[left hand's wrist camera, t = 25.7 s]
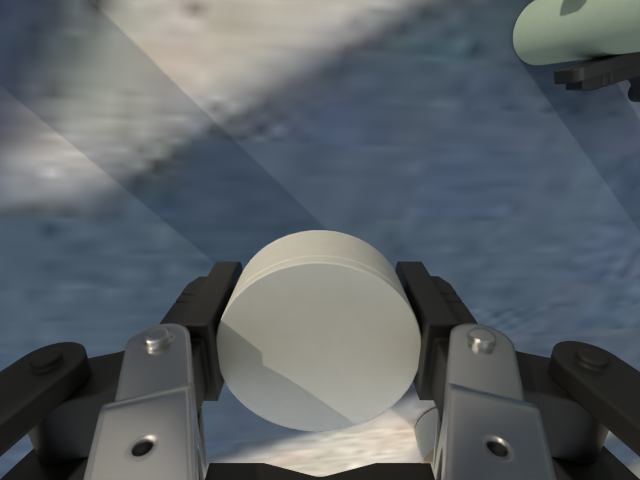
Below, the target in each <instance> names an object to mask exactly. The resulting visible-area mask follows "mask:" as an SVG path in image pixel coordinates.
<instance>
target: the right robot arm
mask: <svg viewBox="0 0 640 480" xmlns="http://www.w3.org/2000/svg"><path fill="white" fill-rule="evenodd" d="M627 79H628V80H629V82H630V84H631V87H630V89H629V91H628V97H629V99H630V100H631V101H633V102H640V52H633V53H626V54H619V55H612V56H604V57H597V58H593V59H590V60H587V61H584V62H581V63H577V64H574V65H571V66H568V67H565V68H562V69H558V70H556V71H554V82H555V84H566V90H575V91H577V90H594V89H598V88H601V87H604V86H607V85H610V84H614V83H617V82H620V81H624V80H627Z"/></svg>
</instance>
